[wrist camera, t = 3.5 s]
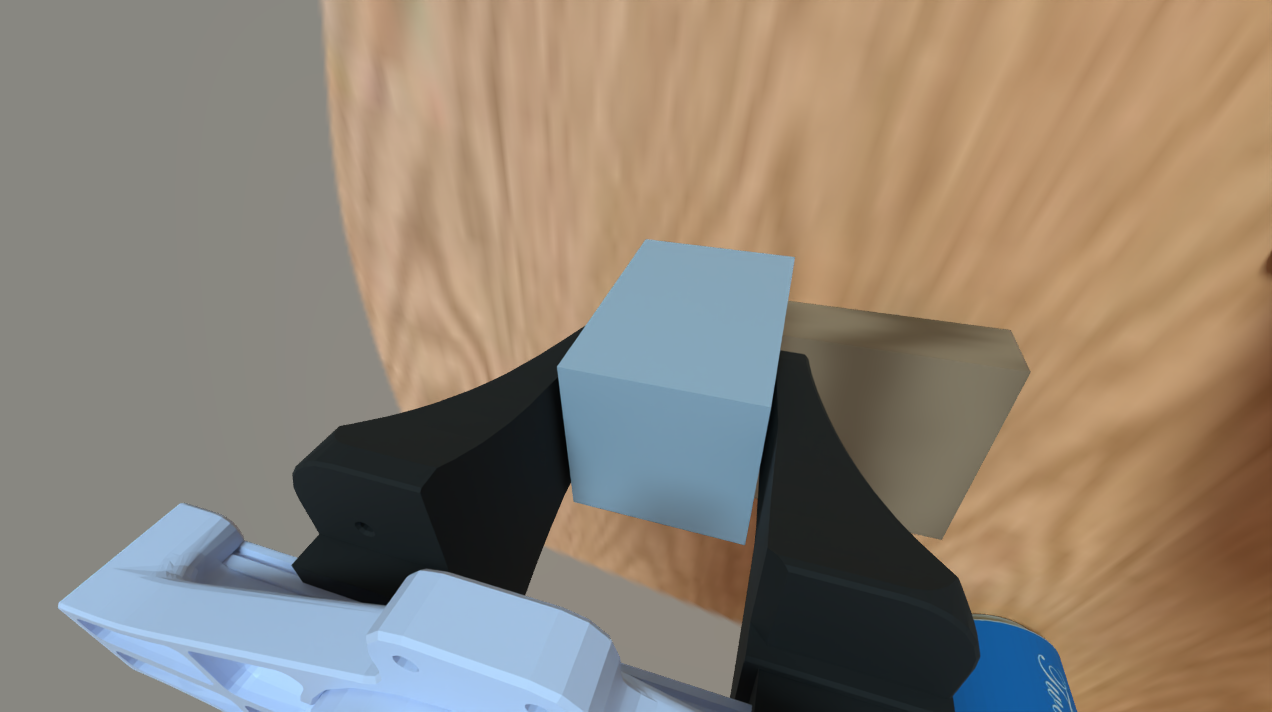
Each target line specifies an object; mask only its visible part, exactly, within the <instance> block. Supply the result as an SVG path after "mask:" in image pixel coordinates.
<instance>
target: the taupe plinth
mask: <svg viewBox="0 0 1272 712" xmlns="http://www.w3.org/2000/svg"><path fill="white" fill-rule="evenodd" d="M780 350H782V351H788V352H795V353H801V354H805V355H806V356H807V358H808V359H809V364H810V368H811V372H812V376H813V379H814V382H815V385H816V388H817V391H818V393H819V396H820V398H821V401H822V403H823V405H824V408H825V410H826V412H827V414H828V417H829V419H830V421H831V423H832V425H833V427H834V429H835V431H836V433H837V434H838V436H839V438H840V440H841V442H842V444H843V445H844V447H845V449H846V451H847V452H848V454H849V456H850V457H851V459H852V460H853V462H854V463H855V465H856V466H857V468H858V469H859V471H860V472H861V474H862V475H863V477H864V478H865V479H866V481H867V482H868V484H869V485H870V486H871V488H872V489H873V490H874V492H875V493H876V494H877V495H878V497H879V498H880V499H881V500H882V501H883V503H884V504H885V505H886V506H887V507H888V509H889V510H890V511H891V512H892V513H893V515H894V516H895V517H896V518H897V519H898V520H899V521H900V522H901V523H902V525H903V526H904V527H905V528H906V529H907V530H908V531H909V532H910V533H914V534H918V535H923V536H927V537H932V538H936V539H940V540H942V538H943V536H944V534H945V533H946V531H947V529H948V527H949V525H950V523H951V521H952V519H953V518H954V516H955V514H956V512H957V510H958V508H959V506H960V504H961V502H962V501H963V499H964V497H965V495H966V493H967V491H968V489H969V487H970V485H971V484H972V482H973V480H974V478H975V476H976V474H977V472H978V470H979V469H980V467H981V465H982V463H983V461H984V459H985V457H986V455H987V453H988V452H989V450H990V448H991V446H992V444H993V442H994V440H995V438H996V436H997V435H998V433H999V431H1000V429H1001V427H1002V425H1003V423H1004V421H1005V420H1006V418H1007V416H1008V414H1009V412H1010V410H1011V408H1012V406H1013V404H1014V403H1015V401H1016V399H1017V397H1018V395H1019V393H1020V391H1021V389H1022V387H1023V386H1024V384H1025V382H1026V380H1027V378H1028V376H1029V374H1030V370H1029V368H1028V366H1027V363H1026V361H1025V359H1024V357H1023V355H1022V353H1021V351H1020V349H1019V347H1018V344H1017V342H1016V340H1015V338H1014V336H1013V334H1012V332H1011V330H1006V329H998V328H990V327H983V326H975V325H968V324H960V323H953V322H945V321H937V320H930V319H922V318H915V317H907V316H899V315H892V314H884V313H877V312H869V311H862V310H854V309H846V308H839V307H831V306H824V305H816V304H809V303H801V302H793V301H788V303H787V310H786V316H785V322H784V329H783V335H782V341H781V348H780ZM758 485H759V474H758V479H757V484H756V490H755V495H754V498H757V499H758Z"/></svg>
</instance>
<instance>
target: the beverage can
mask: <svg viewBox="0 0 1272 712" xmlns="http://www.w3.org/2000/svg"><path fill="white" fill-rule="evenodd" d="M972 616H973V619H974V623H975V626H976V630H977V635H978V641H979V649H980V659H979V661H978V663H977V665H976V668H975V669H974V670H973V672H972V673H971V674H970V675H969V677H968V678H967V679H966V680H965V682H964V683H963V684H962V685H961V687H960V688H959V689H958V690H957V692H956V693H955V694H954V695H953V701H954V707H955V712H1077V710H1076V707H1075V703H1074V700H1073V697H1072V694H1071V691H1070V688H1069V685H1068V682H1067V678H1066V675H1065V672H1064V669H1063V666H1062V663H1061V660H1060V657H1059V654H1058V652H1057V651H1056V649H1055V648H1054V647H1053V645H1052V644H1051V643H1049V642H1048V641H1047V640H1046V639H1044V638H1043V637H1041V636H1040V635H1038V634H1036V633H1034V632H1032V631H1030V630H1028V629H1026V628H1025V627H1023V626H1022V625H1020V624H1018V623H1016V622H1013V621H1011V620H1008V619H1005V618H1001V617H997V616H992V615H983V614H972Z"/></svg>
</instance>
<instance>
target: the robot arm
mask: <svg viewBox="0 0 1272 712" xmlns="http://www.w3.org/2000/svg"><path fill="white" fill-rule="evenodd" d="M584 327H585V326H584ZM584 327H582V328H581V329H579V330H578V331H576V332H575V333H573V334H572V335H570V336H569V337H567V338H566V339H564V340H563V341H561V342H559V343H558V344H556V345H555V346H553V347H551V348H550V349H548V350H547V351H545V352H544V353H542V354H540V355H539V356H537V357H535V358H533V359H532V360H530V361H528V362H526V363H525V364H523V365H521V366H519V367H517V368H516V369H514V370H512V371H510V372H508V373H507V374H505V375H503V376H501V377H499V378H496V379H494V380H492V381H490V382H488V383H486V384H483V385H481V386H479V387H477V388H474V389H472V390H469V391H467V392H464V393H461V394H459V395H456V396H453V397H451V398H448V399H445V400H442V401H440V402H437V403H434V404H431V405H427V406H424V407H421V408H417V409H414V410H410V411H407V412H403V413H399V414H396V415H392V416H388V417H383V418H378V419H373V420H368V421H363V422H359V423H354V424H349V425H343V426H339V427H338V428H337V429H336V430H335V431H334V432H333V433H332V434H331V435H329V436H328V437H327V438H326V439H325V440H324V441H323V442H322V443H321V444H320V445H319V446H317V447H316V448H315V449H314V450H313V451H312V452H311V453H310V454H309V455H308V456H307V457H306V458H304V459H303V460H302V461H301V462H300V463H299V464H298V465H297V466H296V467H295V470H294V472H293V485H294V489H295V492H296V494H297V496H298V498H299V500H300V502H301V503H302V505H303V507H304V508H305V510H306V512H307V514H308V515H309V517H310V519H311V520H312V522H313V524H314V525H315V527H316V529H317V531H318V532H319V535H318V536H317V538H316V539H315V540H314V541H313V542H312V543H311V544H310V545H309V546H308V547H307V548H306V549H305V551H304V552H303V553H302V554H301V555H300V556H299V557H294V556H291V555H288V554H285V553H282V552H279V551H276V550H273V549H270V548H267V547H264V546H261V545H257V544H254V543H251V542H248V541H245V540H244V537H243V535H242V533H241V531H240V530H239V529H238V527H237V526H236V525H235V524H234V523H233V522H232V521H231V520H230V519H228V518H227V517H225V516H223V515H221V514H219V513H216V512H213V511H210V510H207V509H204V508H200V507H197V506H194V505H191V504H187V503H180V504H179V505H178V506H176V507H175V508H174V509H173V510H172V511H170V512H169V513H168V514H167V515H165V516H164V517H163V518H162V519H160V520H159V521H158V522H157V523H156V524H155V525H153V526H152V527H151V528H149V529H148V530H147V531H146V532H145V533H143V534H142V535H141V536H140V537H139V538H137V539H136V540H135V541H134V542H132V543H131V544H130V545H129V546H127V547H126V548H125V549H124V550H123V551H121V552H120V553H119V554H118V555H116V556H115V557H114V558H113V559H112V560H110V561H109V562H108V563H107V564H105V565H104V566H103V567H102V568H101V569H99V570H98V571H97V572H96V573H94V574H93V575H92V576H91V577H90V578H88V579H87V580H86V581H85V582H83V583H82V584H81V585H80V586H78V587H77V588H76V589H75V590H74V591H72V592H71V593H70V594H69V595H68V596H66V597H65V598H64V599H63V600H61V601H60V602H59V606H58V609H60V610H61V611H62V612H63V613H65V614H66V615H67V616H68V617H69V618H71V619H72V620H73V621H74V622H76V623H77V624H78V625H79V626H81V627H82V628H83V629H84V630H85V631H87V632H88V633H89V634H90V635H91V636H93V637H94V638H95V639H96V640H98V641H99V642H100V643H101V644H102V645H104V646H105V647H106V648H107V649H109V650H110V651H111V652H112V653H114V654H115V655H116V656H117V657H119V658H120V659H121V660H122V661H123V662H124V663H126V664H127V665H128V666H130V667H131V668H132V669H134V670H136V671H138V672H140V673H143V674H145V675H148V676H150V677H152V678H154V679H156V680H158V681H161V682H163V683H165V684H167V685H170V686H172V687H174V688H176V689H178V690H180V691H182V692H184V693H186V694H189V695H191V696H193V697H195V698H197V699H199V700H201V701H203V702H205V703H207V704H209V705H211V706H213V707H215V708H217V709H219V710H221V711H223V712H955V707H954V701H953V695H954V694H955V693H956V692H957V690H958V689H959V688H960V687H961V685H962V684H963V683H964V682H965V680H966V679H967V678H968V677H969V675H970V674H971V673H972V672H973V670H974V669H975V668H976V665H977V663H978V661H979V659H980V649H979V641H978V635H977V630H976V626H975V623H974V619H973V616H972V613H971V610H970V608H969V605H968V602H967V599H966V596H965V594H964V591H963V588H962V586H961V583H960V581H959V578H958V577H957V576H956V575H955V574H954V573H953V572H952V571H950V570H949V569H948V568H947V567H946V566H945V565H944V564H943V563H942V562H941V561H939V560H938V559H937V558H936V557H935V556H934V555H933V554H932V553H931V552H930V551H929V550H927V549H926V548H925V547H924V546H923V545H922V544H921V543H920V542H919V541H918V540H917V539H916V538H915V537H914V536H913V535H912V534H911V533H910V532H909V531H908V530H907V529H906V528H905V527H904V526H903V525H902V523H901V522H900V521H899V520H898V519H897V518H896V517H895V516H894V515H893V513H892V512H891V511H890V510H889V509H888V507H887V506H886V505H885V504H884V503H883V501H882V500H881V499H880V498H879V497H878V495H877V494H876V493H875V492H874V490H873V489H872V488H871V486H870V485H869V484H868V482H867V481H866V479H865V478H864V477H863V475H862V474H861V472H860V471H859V469H858V468H857V466H856V465H855V463H854V462H853V460H852V459H851V457H850V456H849V454H848V452H847V451H846V449H845V447H844V445H843V444H842V442H841V440H840V438H839V436H838V434H837V433H836V431H835V429H834V427H833V425H832V423H831V421H830V419H829V417H828V414H827V412H826V410H825V408H824V405H823V403H822V401H821V398H820V396H819V393H818V391H817V388H816V385H815V382H814V379H813V376H812V372H811V368H810V364H809V359H808V358H807V356H806V355H805V354H801V353H795V352H788V351H782V350H780V354H779V360H778V367H777V373H776V379H775V385H774V392H773V398H772V404H771V410H770V415H769V421H768V426H767V431H766V437H765V442H764V447H763V452H762V458H761V463H760V468H759V485H758V504H757V522H756V535H755V545H754V551H753V557H752V564H751V570H750V577H749V583H748V589H747V596H746V602H745V608H744V615H743V621H742V627H741V633H740V640H739V646H738V652H737V659H736V665H735V671H734V677H733V683H732V689H731V695H730V698H728V697H725V696H722V695H719V694H716V693H713V692H710V691H707V690H704V689H701V688H698V687H695V686H691V685H688V684H685V683H682V682H679V681H676V680H673V679H670V678H666V677H664V676H661V675H657V674H655V673H651V672H648V671H645V670H642V669H639V668H636V667H633V666H630V665H627V664H624V663H621V662H620V656H619V654H618V652H617V650H616V648H615V646H614V644H613V642H612V640H611V638H610V637H609V635H608V634H607V633H606V632H605V631H603V630H602V629H601V628H600V627H598V626H597V625H596V624H595V623H593V622H592V621H591V620H590V619H588V618H586V617H583V616H581V615H579V614H577V613H575V612H572V611H570V610H568V609H566V608H563V607H560V606H557V605H554V604H550V603H547V602H544V601H540V600H538V599H534V598H531V597H527V596H525V594H526V591H527V589H528V586H529V583H530V580H531V578H532V575H533V572H534V569H535V567H536V564H537V561H538V559H539V556H540V554H541V551H542V549H543V546H544V544H545V541H546V539H547V536H548V534H549V531H550V528H551V526H552V524H553V521H554V519H555V517H556V514H557V512H558V509H559V507H560V505H561V502H562V500H563V498H564V495H565V493H566V491H567V489H568V487H569V485H570V483H571V476H570V468H569V460H568V452H567V444H566V436H565V428H564V419H563V411H562V403H561V395H560V387H559V379H558V371H557V366H558V365H559V363H560V362H561V360H562V359H563V358H564V356H565V355H566V353H567V352H568V350H569V349H570V347H571V346H572V345H573V343H574V342H575V340H576V339H577V337H578V336H579V335H580V333H581V332H582V330H583V329H584Z"/></svg>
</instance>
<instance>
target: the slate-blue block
mask: <svg viewBox="0 0 1272 712" xmlns="http://www.w3.org/2000/svg"><path fill="white" fill-rule="evenodd" d="M794 259H795V257H789V256H780V255H772V254H764V253H755V252H747V251H739V250H730V249H722V248H714V247H706V246H697V245H689V244H681V243H672V242H664V241H656V240H647V239H646V240H645V241H644V243H643V244H642V246H641V247H640V249H639V250H638V251H637V253H636V254H635V256H634V257H633V259H632V260H631V261H630V263H629V264H628V266H627V267H626V269H625V270H624V271H623V273H622V274H621V276H620V277H619V279H618V280H617V282H616V283H615V284H614V286H613V287H612V289H611V290H610V292H609V293H608V294H607V296H606V297H605V299H604V300H603V302H602V303H601V304H600V306H599V307H598V309H597V310H596V312H595V313H594V314H593V316H592V317H591V319H590V320H589V322H588V323H587V325H586V326H585V327H584V329H583V330H582V332H581V333H580V335H579V336H578V337H577V339H576V340H575V342H574V343H573V345H572V346H571V347H570V349H569V350H568V352H567V353H566V355H565V356H564V358H563V359H562V360H561V362H560V363H559V365H558V366H557V371H558V379H559V387H560V395H561V403H562V411H563V419H564V428H565V436H566V444H567V452H568V460H569V468H570V476H571V484H572V492H573V500H574V502H577V503H581V504H585V505H589V506H592V507H596V508H600V509H604V510H608V511H612V512H616V513H620V514H624V515H628V516H632V517H636V518H640V519H644V520H648V521H652V522H656V523H659V524H663V525H667V526H671V527H675V528H679V529H683V530H687V531H691V532H695V533H699V534H703V535H707V536H711V537H715V538H719V539H723V540H726V541H730V542H734V543H738V544H742V545H745V542H746V537H747V532H748V527H749V521H750V516H751V511H752V505H753V500H754V495H755V490H756V484H757V479H758V474H759V468H760V463H761V458H762V452H763V447H764V442H765V437H766V431H767V426H768V421H769V415H770V410H771V404H772V398H773V392H774V385H775V379H776V373H777V367H778V360H779V354H780V348H781V341H782V335H783V329H784V322H785V316H786V310H787V303H788V297H789V291H790V284H791V278H792V272H793V266H794Z"/></svg>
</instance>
